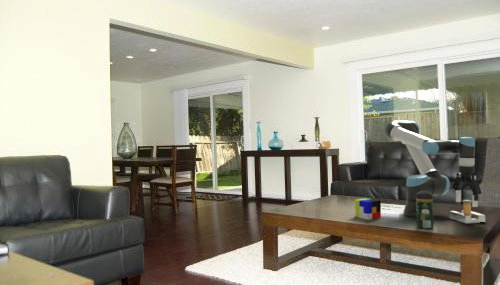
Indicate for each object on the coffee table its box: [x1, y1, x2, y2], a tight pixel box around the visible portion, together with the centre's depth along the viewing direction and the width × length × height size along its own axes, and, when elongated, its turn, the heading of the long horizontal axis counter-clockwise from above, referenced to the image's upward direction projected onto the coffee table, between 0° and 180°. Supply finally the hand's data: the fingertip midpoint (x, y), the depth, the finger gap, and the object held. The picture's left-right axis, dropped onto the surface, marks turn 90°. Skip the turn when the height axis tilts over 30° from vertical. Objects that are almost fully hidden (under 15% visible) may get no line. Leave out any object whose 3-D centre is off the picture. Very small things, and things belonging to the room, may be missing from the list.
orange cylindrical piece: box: [462, 199, 472, 216], centre depth 214 cm, size 4×4×11 cm
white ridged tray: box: [448, 209, 486, 224], centre depth 215 cm, size 11×14×4 cm
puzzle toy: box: [354, 197, 382, 221], centre depth 229 cm, size 10×10×10 cm
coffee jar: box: [416, 191, 434, 230], centre depth 202 cm, size 10×8×19 cm
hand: (466, 204), depth 215 cm, fingers open, 13 cm apart
